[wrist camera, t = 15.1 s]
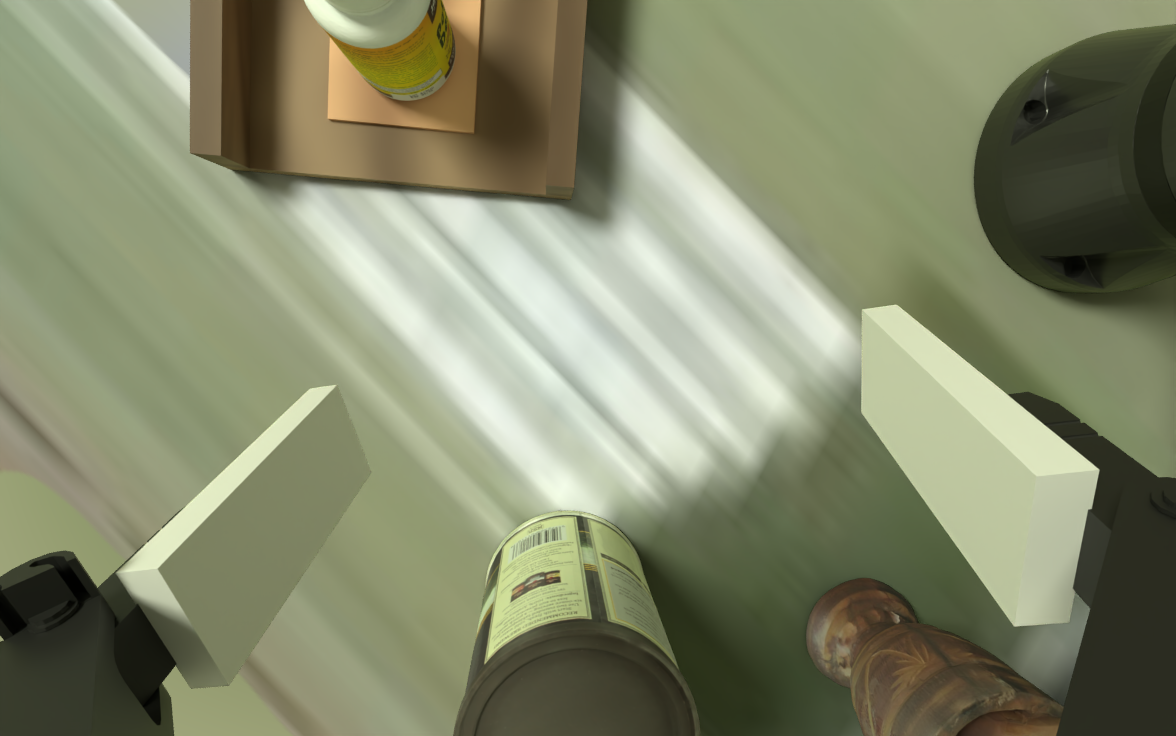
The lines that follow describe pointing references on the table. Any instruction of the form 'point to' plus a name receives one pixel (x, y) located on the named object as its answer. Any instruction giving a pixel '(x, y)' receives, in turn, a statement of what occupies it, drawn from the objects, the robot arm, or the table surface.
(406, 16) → the supplement bottle
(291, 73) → the wooden tray with rails
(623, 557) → the coffee can
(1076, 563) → the robot arm
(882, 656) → the mortar and pestle
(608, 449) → the table surface
